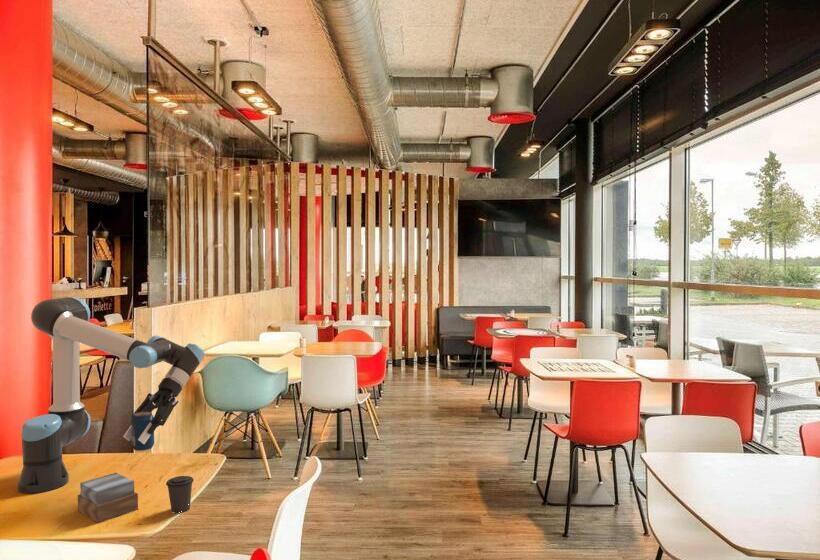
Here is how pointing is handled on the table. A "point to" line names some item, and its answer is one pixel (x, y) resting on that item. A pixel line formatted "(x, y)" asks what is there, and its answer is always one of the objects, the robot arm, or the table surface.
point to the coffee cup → (180, 493)
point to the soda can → (141, 430)
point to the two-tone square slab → (107, 497)
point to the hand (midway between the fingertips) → (133, 440)
